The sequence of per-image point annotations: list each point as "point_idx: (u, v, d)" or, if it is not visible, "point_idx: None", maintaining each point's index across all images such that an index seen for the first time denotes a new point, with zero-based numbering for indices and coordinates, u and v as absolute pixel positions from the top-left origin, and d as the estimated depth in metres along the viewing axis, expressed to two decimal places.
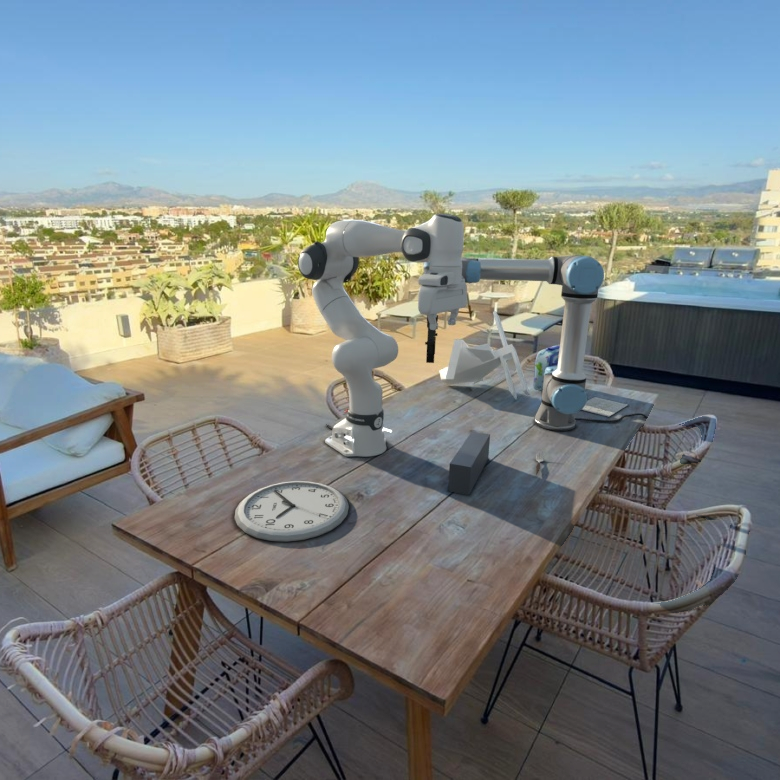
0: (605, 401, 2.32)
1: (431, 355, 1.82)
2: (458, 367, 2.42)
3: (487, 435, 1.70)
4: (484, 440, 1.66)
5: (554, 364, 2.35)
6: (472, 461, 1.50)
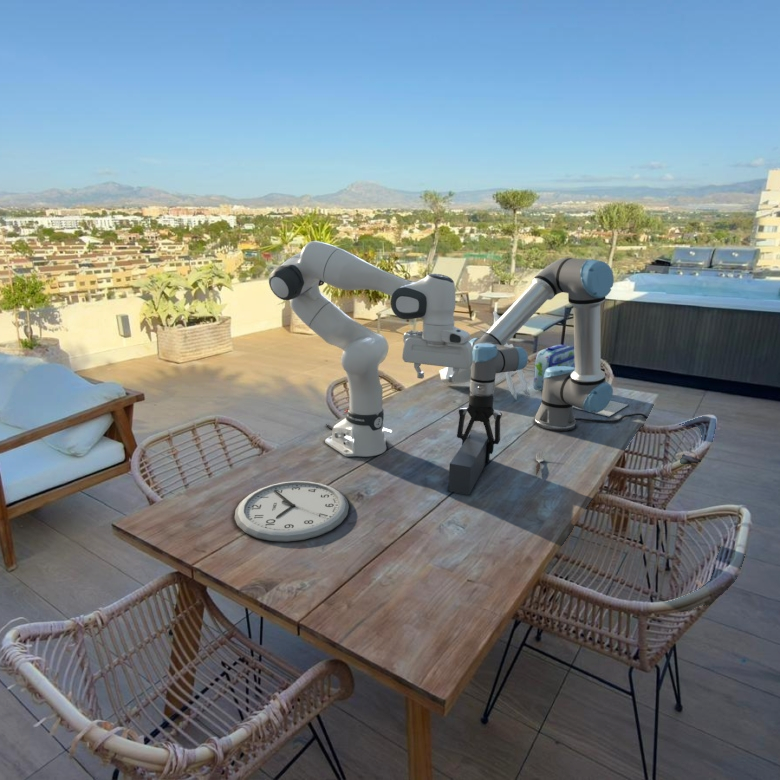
0: None
1: (489, 454, 1.69)
2: None
3: None
4: (484, 440, 1.65)
5: (554, 364, 2.35)
6: (472, 461, 1.50)
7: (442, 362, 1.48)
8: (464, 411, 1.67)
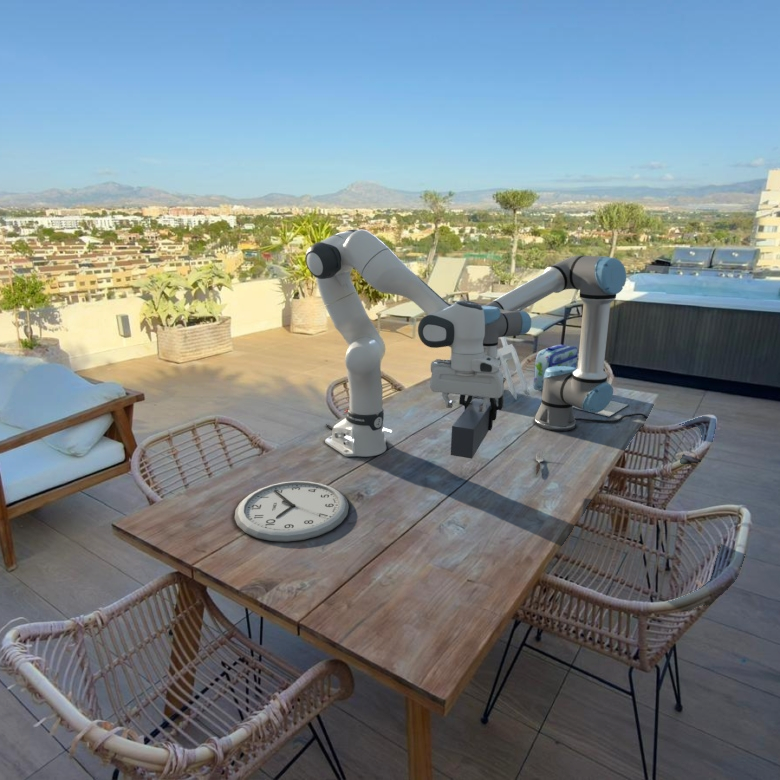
0: None
1: (492, 421, 1.66)
2: None
3: None
4: (487, 406, 1.62)
5: (554, 364, 2.35)
6: (475, 424, 1.47)
7: (472, 391, 1.42)
8: None
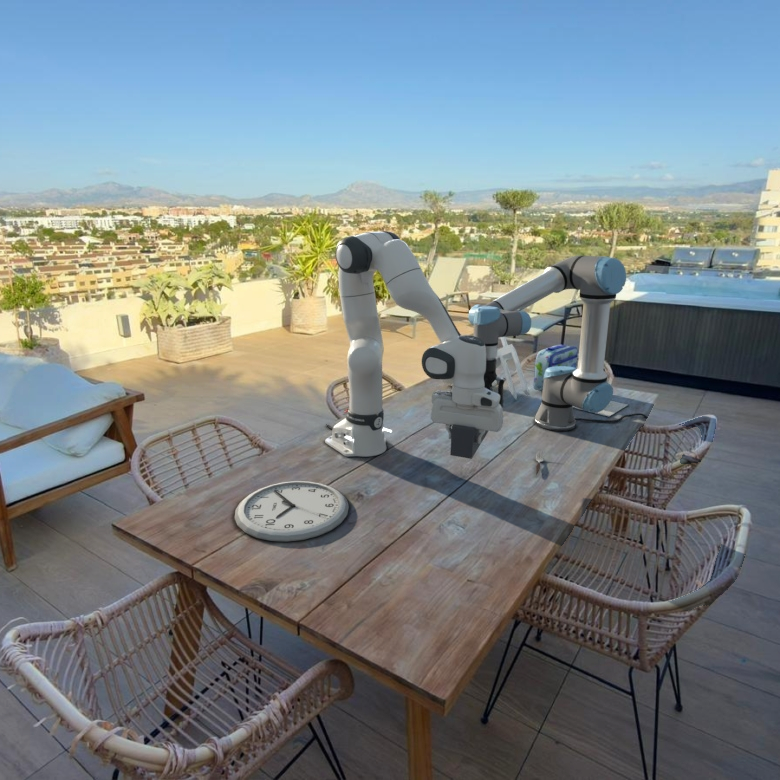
0: None
1: None
2: None
3: None
4: None
5: (554, 364, 2.35)
6: None
7: (472, 424, 1.45)
8: None
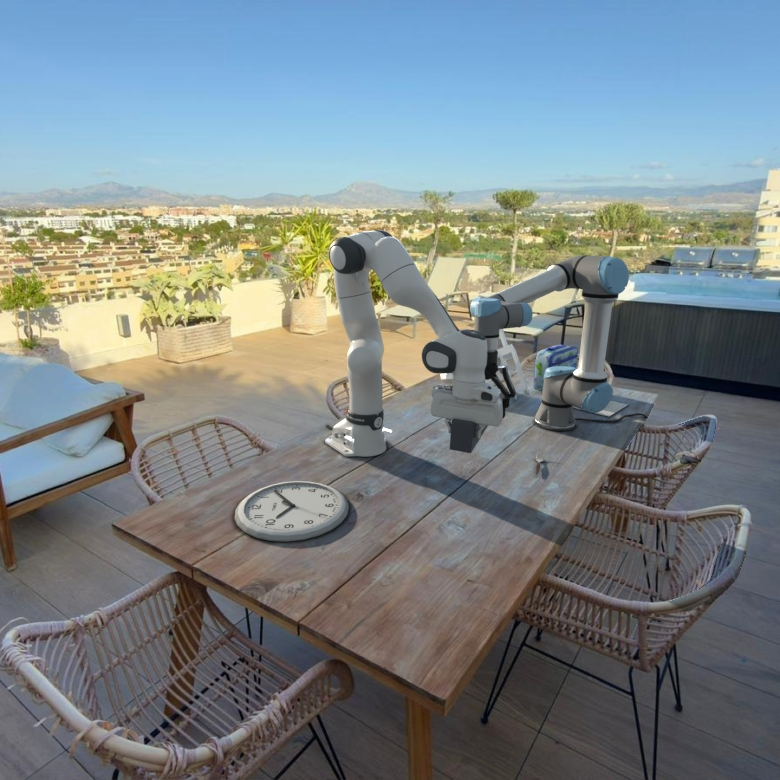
0: None
1: (505, 408, 1.64)
2: None
3: None
4: None
5: (554, 364, 2.35)
6: None
7: (472, 418, 1.45)
8: None
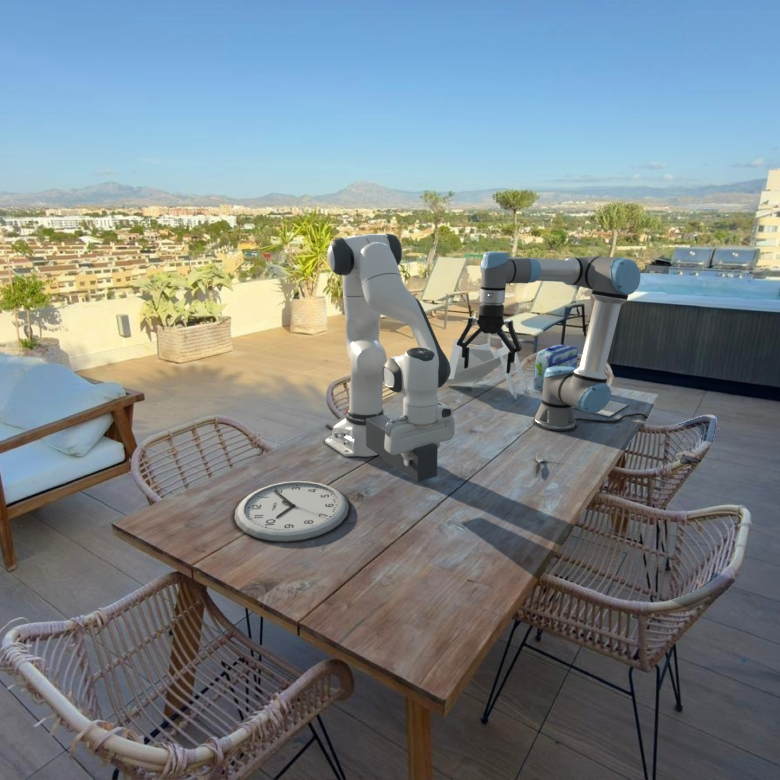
0: None
1: (510, 364, 1.65)
2: (458, 367, 2.42)
3: (384, 416, 1.55)
4: None
5: (554, 364, 2.35)
6: None
7: (431, 440, 1.35)
8: (473, 321, 1.64)
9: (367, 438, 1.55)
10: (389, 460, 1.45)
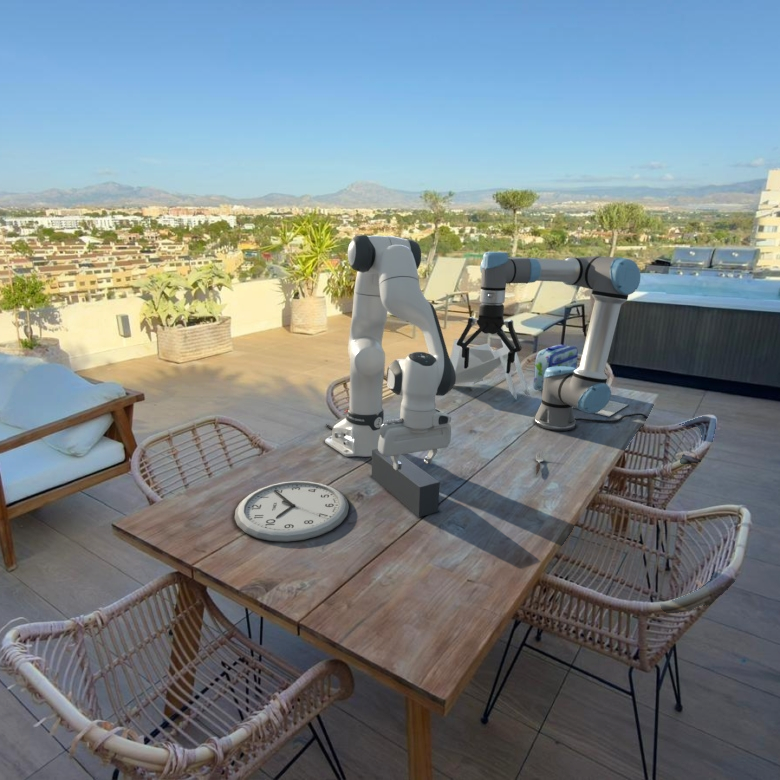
0: None
1: (510, 364, 1.65)
2: (458, 367, 2.42)
3: None
4: None
5: (554, 364, 2.35)
6: (430, 476, 1.41)
7: (425, 446, 1.35)
8: (473, 321, 1.64)
9: (372, 468, 1.58)
10: (393, 492, 1.49)
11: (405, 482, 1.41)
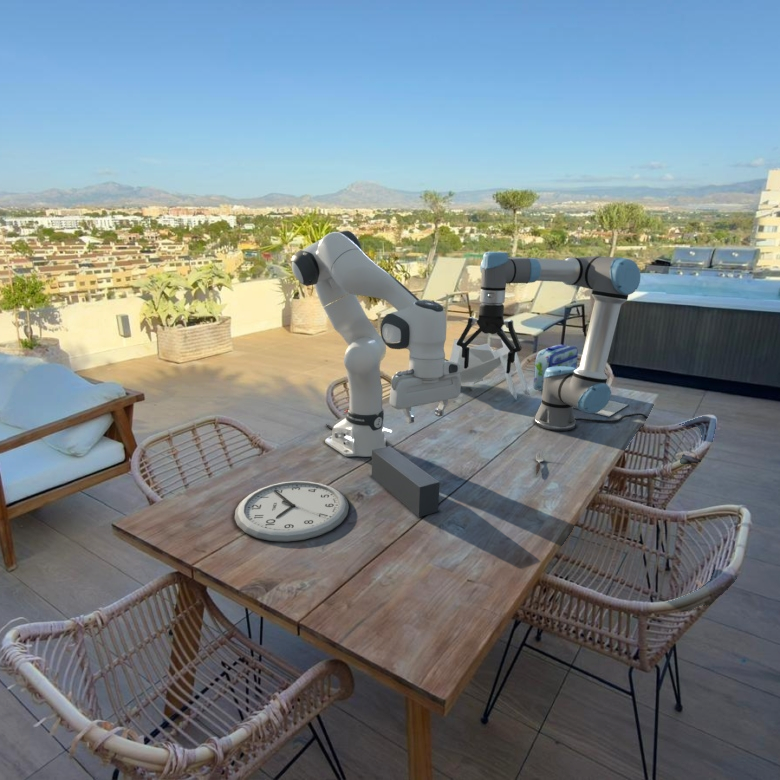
0: None
1: (510, 364, 1.65)
2: None
3: (390, 448, 1.59)
4: (397, 453, 1.55)
5: (554, 364, 2.35)
6: (430, 476, 1.41)
7: (437, 397, 1.32)
8: (473, 321, 1.64)
9: (372, 468, 1.58)
10: (393, 492, 1.49)
11: (405, 482, 1.41)
